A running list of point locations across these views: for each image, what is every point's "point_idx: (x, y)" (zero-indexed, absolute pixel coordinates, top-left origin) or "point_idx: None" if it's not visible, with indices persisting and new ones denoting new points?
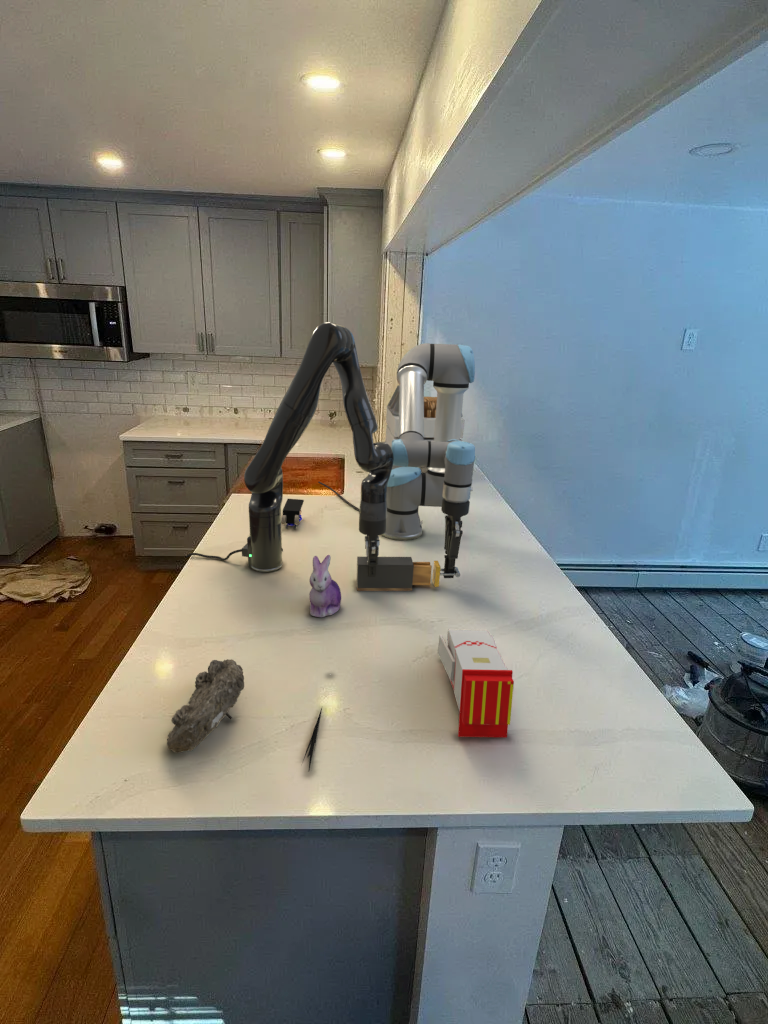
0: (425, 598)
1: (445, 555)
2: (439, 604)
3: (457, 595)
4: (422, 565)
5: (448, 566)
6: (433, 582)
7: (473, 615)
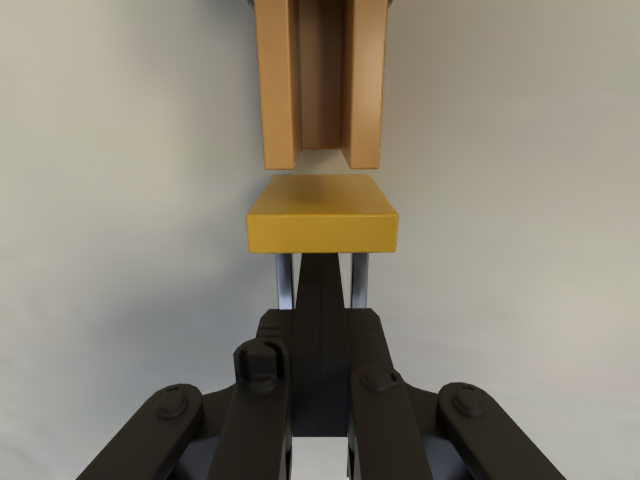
0: (157, 95)
1: (275, 363)
2: (98, 172)
3: (219, 284)
4: (281, 64)
5: (264, 322)
6: (325, 175)
7: (27, 318)
